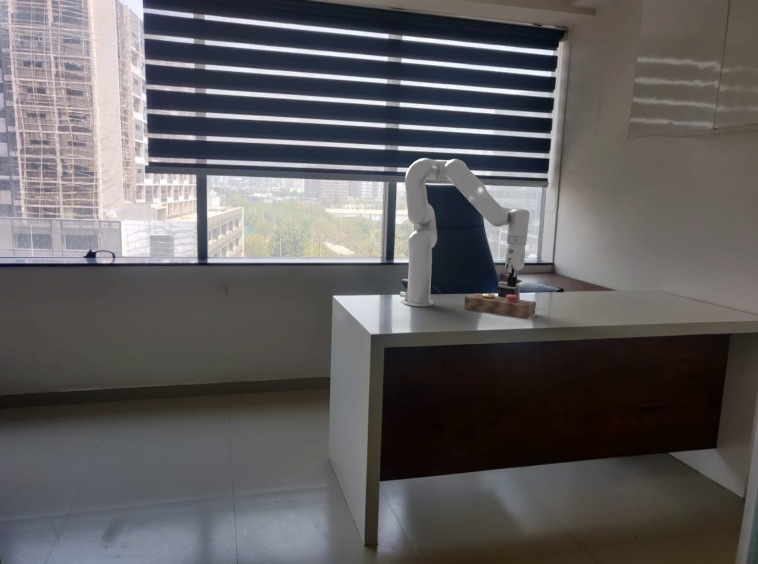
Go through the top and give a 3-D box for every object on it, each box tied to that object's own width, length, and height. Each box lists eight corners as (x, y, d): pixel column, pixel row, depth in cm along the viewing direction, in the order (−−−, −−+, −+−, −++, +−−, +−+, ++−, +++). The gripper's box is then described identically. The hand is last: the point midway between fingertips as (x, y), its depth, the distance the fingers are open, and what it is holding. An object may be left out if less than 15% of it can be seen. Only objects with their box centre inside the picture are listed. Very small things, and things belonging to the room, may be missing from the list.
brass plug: (479, 309, 227) (480, 294, 226) (484, 307, 232) (485, 292, 231) (491, 311, 225) (492, 296, 224) (495, 309, 229) (496, 294, 228)
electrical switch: (519, 304, 243) (520, 283, 241) (515, 307, 239) (516, 286, 237) (499, 301, 248) (500, 280, 246) (495, 303, 244) (495, 283, 242)
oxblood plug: (503, 310, 222) (504, 295, 221) (507, 308, 226) (508, 294, 225) (515, 312, 219) (516, 297, 218) (519, 310, 224) (520, 295, 223)
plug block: (464, 308, 228) (464, 296, 227) (474, 304, 237) (475, 293, 236) (526, 318, 214) (527, 306, 213) (534, 314, 223) (536, 301, 223)
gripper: (519, 242, 210) (514, 290, 213) (531, 240, 223) (526, 285, 226) (500, 240, 214) (495, 287, 217) (513, 238, 226) (508, 282, 230)
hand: (511, 286), depth 221 cm, fingers closed
